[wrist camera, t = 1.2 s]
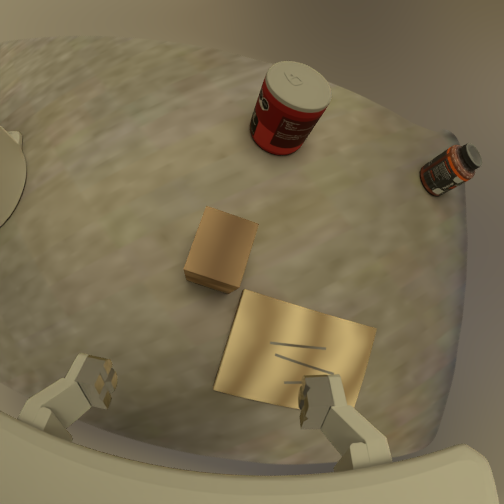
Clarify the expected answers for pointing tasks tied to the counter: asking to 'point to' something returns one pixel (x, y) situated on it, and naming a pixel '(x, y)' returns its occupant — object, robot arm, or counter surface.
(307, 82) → the canned food
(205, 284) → the block
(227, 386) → the board
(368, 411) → the counter surface
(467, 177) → the supplement bottle
